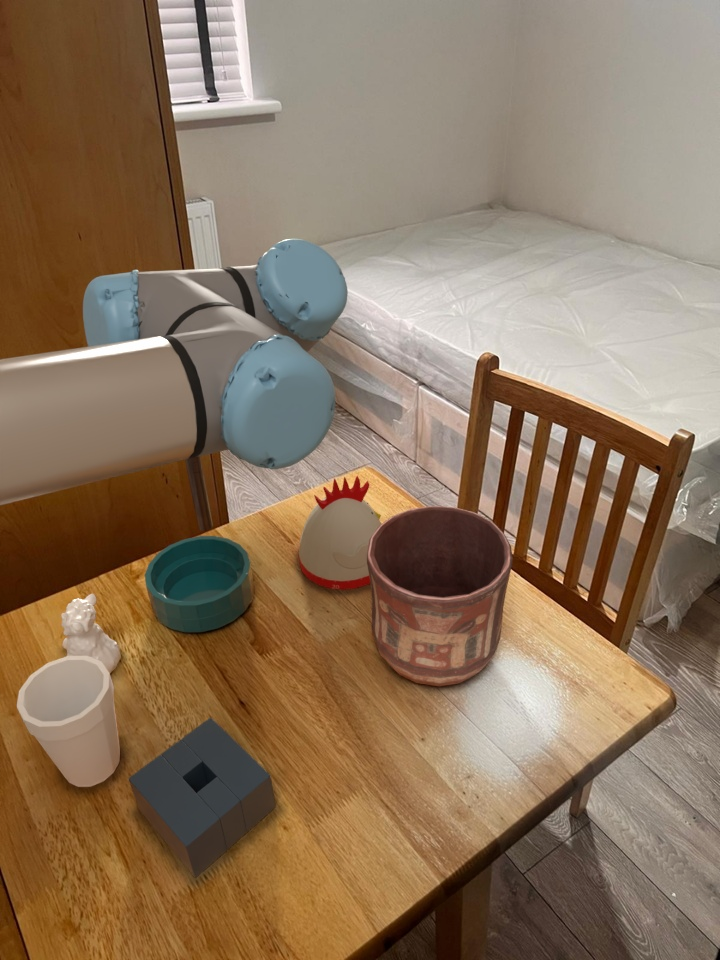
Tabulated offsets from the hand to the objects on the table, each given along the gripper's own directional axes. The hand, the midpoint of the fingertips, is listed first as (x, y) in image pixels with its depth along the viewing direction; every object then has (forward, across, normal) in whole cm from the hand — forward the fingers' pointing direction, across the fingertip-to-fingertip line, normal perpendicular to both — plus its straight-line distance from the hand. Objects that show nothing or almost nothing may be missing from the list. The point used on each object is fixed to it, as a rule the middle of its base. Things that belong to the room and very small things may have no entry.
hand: (174, 447), depth 88 cm
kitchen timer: (+16, +22, -24) cm, 36 cm away
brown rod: (+4, 0, -10) cm, 11 cm away
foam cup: (+13, -23, -27) cm, 38 cm away
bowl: (+22, +1, -18) cm, 29 cm away
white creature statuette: (+22, -16, -18) cm, 33 cm away
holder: (+3, -17, -37) cm, 41 cm away
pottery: (+1, +17, -40) cm, 43 cm away
